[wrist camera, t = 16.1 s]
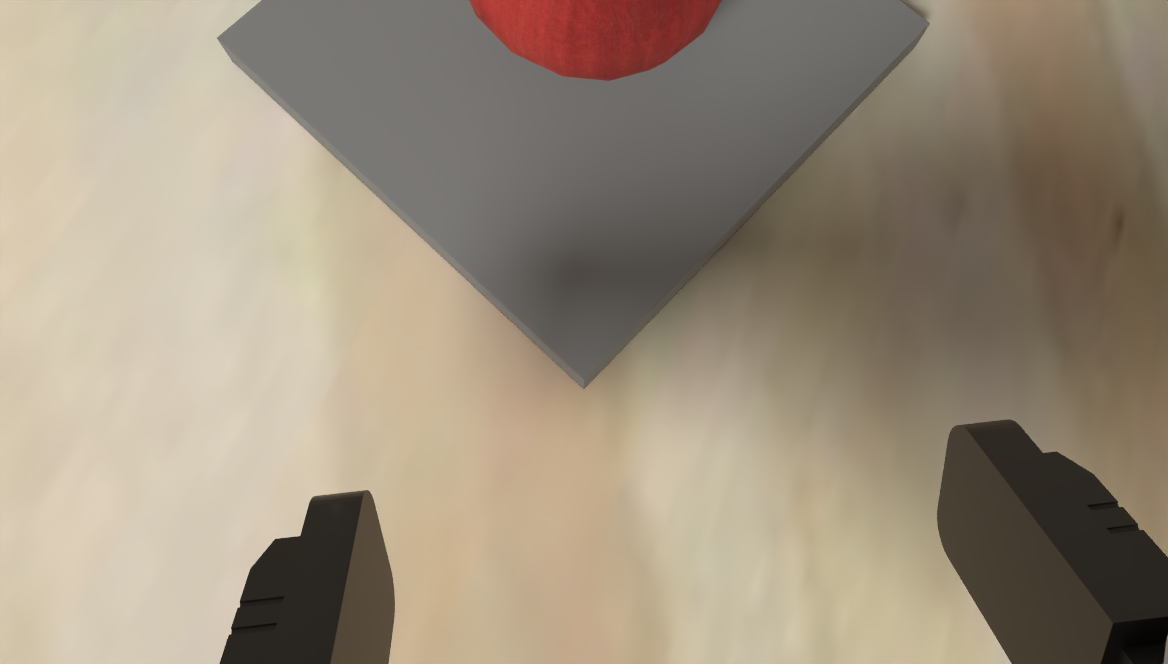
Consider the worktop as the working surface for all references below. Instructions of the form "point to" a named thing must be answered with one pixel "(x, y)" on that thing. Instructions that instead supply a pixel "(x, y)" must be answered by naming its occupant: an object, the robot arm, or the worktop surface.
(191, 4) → the worktop surface
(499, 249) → the mat
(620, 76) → the onion
